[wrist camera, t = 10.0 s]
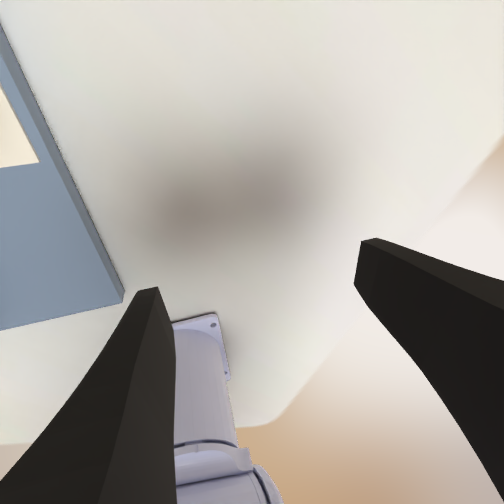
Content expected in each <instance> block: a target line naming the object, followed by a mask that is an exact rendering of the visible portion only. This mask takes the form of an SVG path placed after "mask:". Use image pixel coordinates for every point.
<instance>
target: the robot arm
mask: <svg viewBox="0 0 504 504" xmlns="http://www.w3.org/2000/svg"><path fill="white" fill-rule="evenodd" d="M354 286H355V287H356V289H357V291H358V292H359V294H360V295H361V297H362V299H363V300H364V302H365V303H366V305H367V306H368V307H369V309H370V310H371V311H372V312H373V313H374V315H375V316H376V317H377V318H378V319H379V321H380V322H381V323H382V324H383V325H384V326H385V328H386V329H387V330H388V331H389V332H390V334H391V335H392V336H393V337H394V338H395V339H396V341H397V342H398V343H399V344H400V345H401V346H402V347H403V349H404V350H405V351H406V352H407V353H408V355H409V356H410V357H411V358H412V359H413V361H414V362H415V363H416V364H417V366H418V367H419V368H420V370H421V371H422V372H423V374H424V375H425V377H426V378H427V379H428V381H429V382H430V384H431V385H432V387H433V388H434V389H435V391H436V392H437V394H438V395H439V396H440V398H441V399H442V401H443V403H444V404H445V405H446V407H447V409H448V410H449V412H450V413H451V415H452V416H453V418H454V419H455V421H456V422H457V423H458V425H459V427H460V428H461V430H462V432H463V433H464V435H465V436H466V438H467V440H468V441H469V443H470V445H471V446H472V448H473V449H474V451H475V453H476V454H477V456H478V458H479V459H480V461H481V463H482V464H483V466H484V468H485V470H486V471H487V473H488V475H489V476H490V478H491V480H492V482H493V484H494V485H495V487H496V489H497V491H498V492H499V494H500V496H501V498H502V499H503V501H504V281H502V280H499V279H496V278H492V277H489V276H486V275H483V274H480V273H477V272H474V271H471V270H468V269H464V268H461V267H458V266H455V265H453V264H450V263H447V262H444V261H441V260H439V259H436V258H433V257H430V256H427V255H425V254H422V253H419V252H417V251H414V250H411V249H409V248H406V247H403V246H400V245H398V244H395V243H392V242H389V241H386V240H382V239H379V238H373V239H369V240H364V241H361V246H360V251H359V257H358V262H357V268H356V274H355V279H354ZM212 323H214V324H212ZM230 378H231V375H230V371H229V366H228V362H227V357H226V353H225V348H224V343H223V339H222V334H221V330H220V325H219V321H218V316H217V315H216V314H209V315H205V316H201V317H197V318H192V319H188V320H184V321H180V322H176V323H172V324H171V321H170V318H169V316H168V313H167V310H166V307H165V305H164V302H163V299H162V297H161V294H160V291H159V288H158V287H153V288H149V289H144V290H140V291H138V292H137V293H136V294H135V296H134V298H133V300H132V301H131V303H130V305H129V307H128V308H127V310H126V312H125V314H124V315H123V317H122V319H121V320H120V322H119V324H118V326H117V327H116V329H115V330H114V332H113V334H112V335H111V337H110V339H109V340H108V342H107V343H106V345H105V347H104V348H103V350H102V351H101V353H100V354H99V356H98V357H97V359H96V360H95V362H94V363H93V365H92V366H91V368H90V369H89V371H88V372H87V374H86V375H85V376H84V378H83V379H82V381H81V382H80V384H79V385H78V386H77V388H76V389H75V391H74V392H73V393H72V395H71V396H70V397H69V399H68V400H67V401H66V403H65V404H64V405H63V407H62V408H61V409H60V411H59V412H58V413H57V414H56V416H55V417H54V418H53V419H52V421H51V422H50V423H49V425H48V426H47V427H46V428H45V430H44V431H43V432H42V433H41V434H40V436H39V437H38V438H37V439H36V440H35V442H34V443H33V444H32V445H31V446H30V447H29V449H28V450H27V451H26V452H25V453H24V454H23V456H22V457H21V458H20V459H19V460H18V461H17V462H16V464H15V465H14V466H13V467H12V468H11V469H10V471H9V472H8V473H7V474H6V475H5V476H4V477H3V479H2V480H1V481H0V504H284V502H283V499H282V497H281V494H280V492H279V490H278V488H277V486H276V485H275V483H274V481H273V480H272V479H271V477H270V476H269V475H268V473H267V472H266V470H265V469H264V468H263V467H261V466H260V465H255V464H253V465H252V461H251V457H250V452H249V448H239V446H238V441H237V435H236V430H235V425H234V420H233V415H232V409H231V404H230V399H229V394H228V388H227V383H226V381H228V380H230Z"/></svg>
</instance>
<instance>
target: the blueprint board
mask: <svg viewBox="0 0 504 504" xmlns="http://www.w3.org/2000/svg"><path fill="white" fill-rule="evenodd" d="M124 292H125V291H124V289H123V287H122V285H121V283H120V280H119V278H118V276H117V274H116V272H115V270H114V267H113V265H112V263H111V261H110V259H109V257H108V255H107V252H106V250H105V248H104V246H103V244H102V242H101V240H100V237H99V235H98V233H97V231H96V229H95V227H94V225H93V222H92V220H91V218H90V216H89V214H88V212H87V210H86V207H85V205H84V203H83V201H82V199H81V197H80V195H79V192H78V190H77V188H76V186H75V184H74V182H73V180H72V177H71V175H70V173H69V171H68V169H67V167H66V164H65V162H64V160H63V158H62V156H61V154H60V152H59V149H58V147H57V145H56V143H55V141H54V139H53V137H52V134H51V132H50V130H49V128H48V126H47V124H46V122H45V119H44V117H43V115H42V113H41V111H40V109H39V107H38V104H37V102H36V100H35V98H34V96H33V94H32V92H31V89H30V87H29V85H28V83H27V81H26V79H25V77H24V74H23V72H22V70H21V68H20V66H19V64H18V61H17V59H16V57H15V55H14V53H13V51H12V49H11V46H10V44H9V42H8V40H7V38H6V36H5V34H4V31H3V29H2V27H1V25H0V331H1V330H6V329H10V328H14V327H19V326H23V325H27V324H32V323H36V322H41V321H45V320H49V319H54V318H58V317H63V316H67V315H71V314H76V313H80V312H84V311H89V310H93V309H98V308H102V307H106V306H111V305H115V304H120V303H122V302H123V297H124Z"/></svg>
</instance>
